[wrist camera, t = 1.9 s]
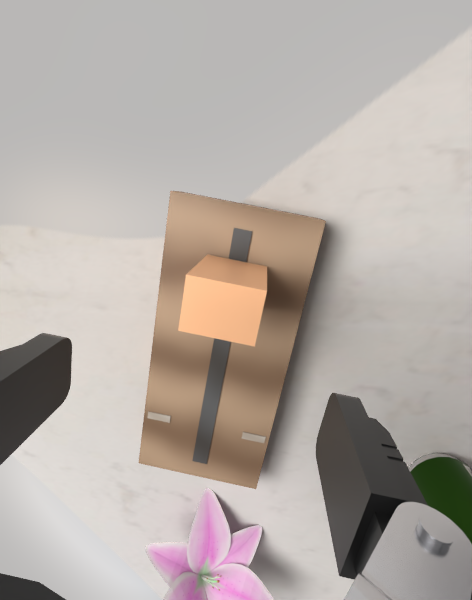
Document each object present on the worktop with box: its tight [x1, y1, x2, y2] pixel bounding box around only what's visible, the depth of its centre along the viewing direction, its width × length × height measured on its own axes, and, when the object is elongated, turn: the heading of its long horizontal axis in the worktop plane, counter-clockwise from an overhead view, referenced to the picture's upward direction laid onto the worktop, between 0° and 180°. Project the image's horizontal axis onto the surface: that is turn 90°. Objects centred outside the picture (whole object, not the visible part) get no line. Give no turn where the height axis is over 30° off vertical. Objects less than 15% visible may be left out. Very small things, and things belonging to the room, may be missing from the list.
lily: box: [145, 488, 274, 600], centre depth 30 cm, size 12×12×10 cm
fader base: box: [139, 191, 326, 489], centre depth 26 cm, size 22×10×3 cm, turn 170°
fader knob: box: [178, 255, 267, 347], centre depth 19 cm, size 3×4×6 cm
